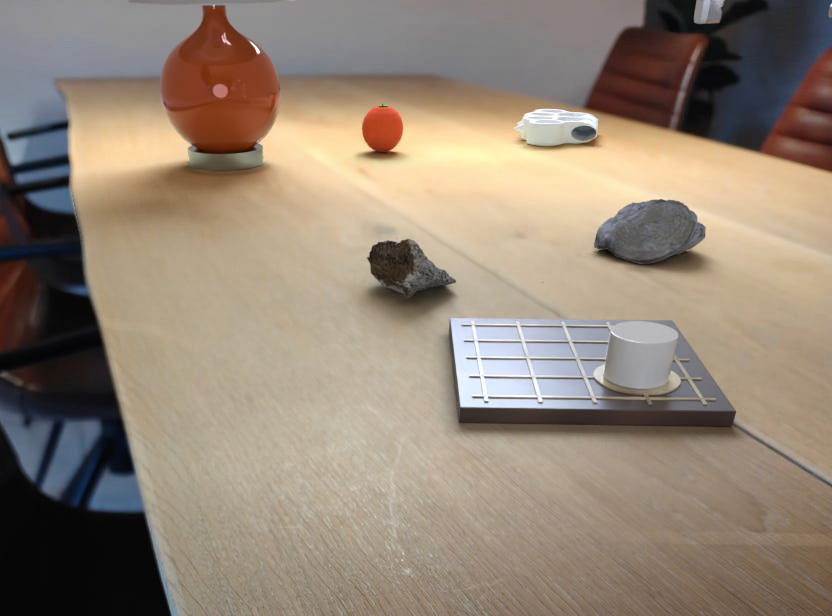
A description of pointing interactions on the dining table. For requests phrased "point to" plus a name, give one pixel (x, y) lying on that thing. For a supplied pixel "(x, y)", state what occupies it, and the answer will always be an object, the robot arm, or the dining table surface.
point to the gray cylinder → (640, 354)
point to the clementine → (382, 128)
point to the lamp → (219, 89)
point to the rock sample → (405, 267)
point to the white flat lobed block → (557, 127)
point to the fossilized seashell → (650, 231)
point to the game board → (571, 377)
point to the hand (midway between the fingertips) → (774, 20)
